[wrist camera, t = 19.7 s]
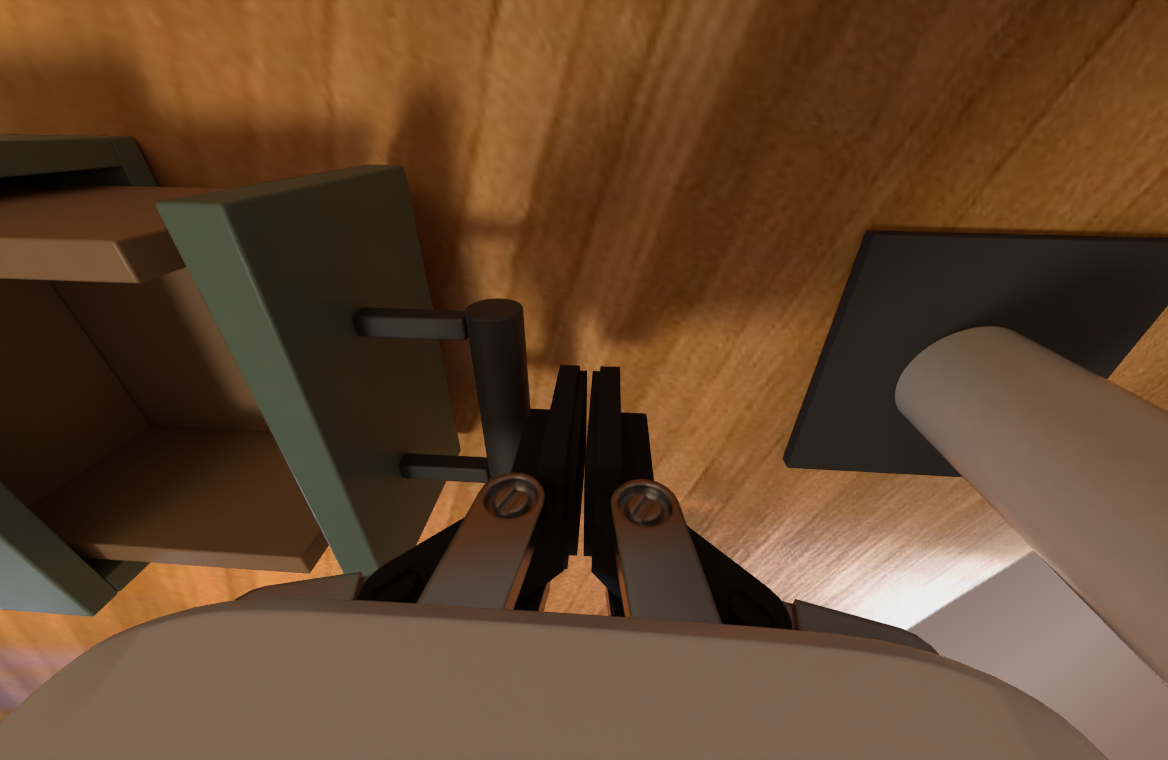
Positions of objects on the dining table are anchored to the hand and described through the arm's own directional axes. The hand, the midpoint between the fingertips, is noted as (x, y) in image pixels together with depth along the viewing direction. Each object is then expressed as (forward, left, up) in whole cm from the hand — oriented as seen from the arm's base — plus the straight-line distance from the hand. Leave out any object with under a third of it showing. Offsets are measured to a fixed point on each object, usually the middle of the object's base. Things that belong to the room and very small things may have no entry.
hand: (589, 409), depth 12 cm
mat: (+1, +14, -5) cm, 14 cm away
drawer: (0, -11, -4) cm, 11 cm away
